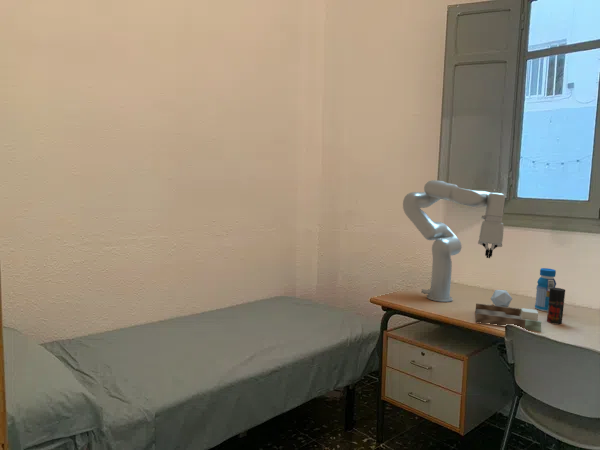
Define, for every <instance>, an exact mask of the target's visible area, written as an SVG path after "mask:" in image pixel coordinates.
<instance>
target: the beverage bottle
mask: <svg viewBox="0 0 600 450" xmlns="http://www.w3.org/2000/svg"><path fill="white" fill-rule="evenodd" d="M556 272H557V271H556V269H553V268H549V267H547V268H546V267H541V268H540V269H539V278H538V279H537V282H536V283H537V285H536V294H535V304H534V308H535V310H537V311H540V312H541V311H542V312H546V313H548V304H549V294H550V288H556V287H557V282H556V279H555V278H556V275H557V274H556Z"/></svg>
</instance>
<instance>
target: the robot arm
mask: <svg viewBox="0 0 600 450" xmlns="http://www.w3.org/2000/svg"><path fill="white" fill-rule="evenodd" d="M423 190H424V191H422V192H421V191H412V192H409V193H407V194H406V195H405V196H404V198H403V200H402V209H403V211H404V214H405V215H406V217H407V218H408V220H409V221H410V222H412V224H413V225H414V226H415V228H416V229H417V230H418V231H419V233H420V234H421V235H422V236H423V238H424V239H426V240H427V241H434V242H433V243H432V246H431V255H432V265H431V268H432V269H431V278H430V279H431V281H430V288H428V289H424V288H422V289H421V293H423V294H426V298H427V299H429V300H430V301H434V302H440V303H449V302H452V301H453V297H452V296H450V295H451V294H450V293H451V283H452V282H451V281H452V271H453V269H452V268H453V263H452V256H456V255H457V254H460V253H461V250H462V248H463V247H462V243H461V241H460V239H459V238H458V236H457V235H456V234H455V233H454V232H453V230H452V229H451V228H450V227H449V226H448V225H447V224H446V223H444V222H441V221H434V220H432V219H431V217H430V216H428V214H427V213H426V212H425V211H424V210H423V209H424V208H429V207H431V206H432V205H435V203H437V202H438V201H439V200H445V201H449V202H452V203H456V204H460V205H463V206H468V207H471V208H472V207H476V208H477V207H480V208H481V207H484V208H485V214H484V215H481V219H483V221H482V223H481V226H480V230H479V236H478V241H477V244H478V245H481V246H483V247H484V249H485V252H484V256H485V257H486V259H491V258H492V257H493V251H494V250H495V249H497V248H501V247H503V242H504V241H503V239H504V223H503V214H504V206H505V200H506V195H505V194H504V193H501V192H489V191H487V190H472V189H469V188H468V189H467V188H462V187H459V186H458V185H457V184H455V183H449V182H446V181H443V180H438V179H437V180H436V179H434V180H433V179H431V180H428V181H426V183H425V184H424V187H423ZM489 245H491V246H490V247H489Z"/></svg>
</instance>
